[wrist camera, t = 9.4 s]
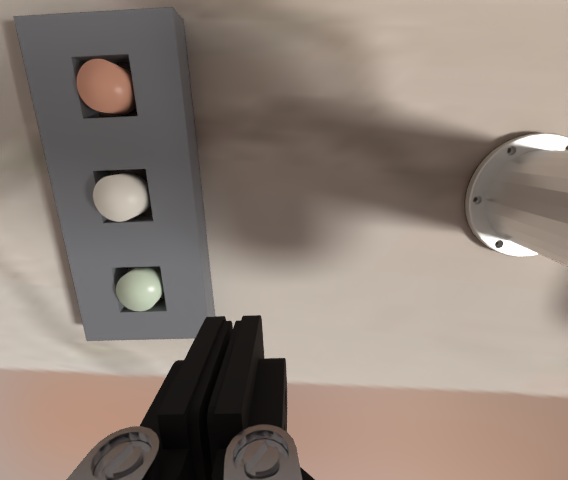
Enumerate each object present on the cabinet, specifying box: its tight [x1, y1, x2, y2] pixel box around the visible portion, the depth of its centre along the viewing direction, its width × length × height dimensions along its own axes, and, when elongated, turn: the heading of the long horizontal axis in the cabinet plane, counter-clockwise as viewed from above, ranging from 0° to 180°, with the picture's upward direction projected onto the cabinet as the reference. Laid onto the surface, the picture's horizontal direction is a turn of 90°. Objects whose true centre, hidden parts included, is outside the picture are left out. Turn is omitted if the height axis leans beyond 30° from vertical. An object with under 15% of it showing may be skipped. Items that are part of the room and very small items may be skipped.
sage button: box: [116, 266, 164, 311], centre depth 37 cm, size 4×4×3 cm
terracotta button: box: [77, 59, 136, 115], centre depth 32 cm, size 4×4×3 cm
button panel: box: [14, 7, 215, 341], centre depth 35 cm, size 14×32×3 cm, turn 2°
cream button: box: [93, 173, 151, 222], centre depth 34 cm, size 4×4×3 cm
